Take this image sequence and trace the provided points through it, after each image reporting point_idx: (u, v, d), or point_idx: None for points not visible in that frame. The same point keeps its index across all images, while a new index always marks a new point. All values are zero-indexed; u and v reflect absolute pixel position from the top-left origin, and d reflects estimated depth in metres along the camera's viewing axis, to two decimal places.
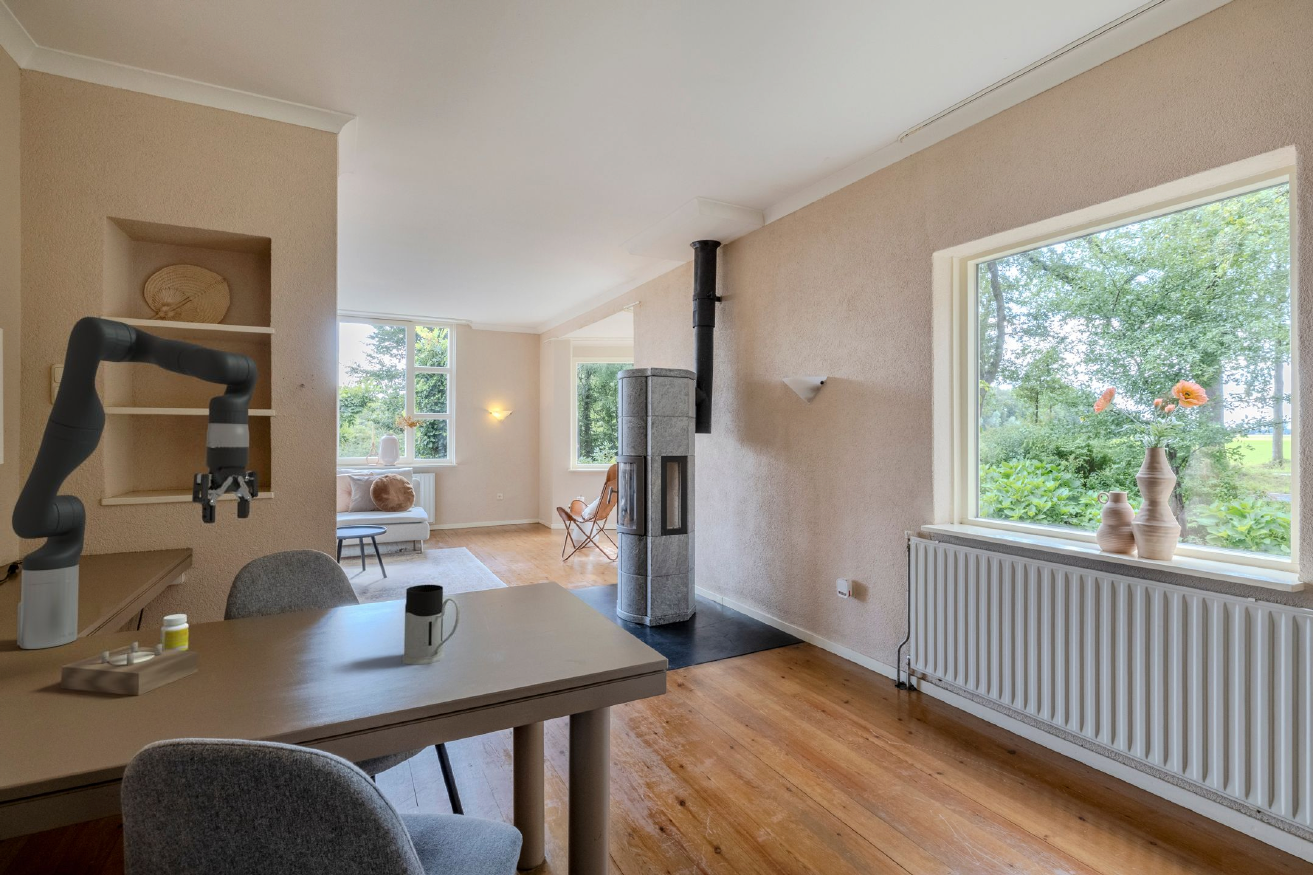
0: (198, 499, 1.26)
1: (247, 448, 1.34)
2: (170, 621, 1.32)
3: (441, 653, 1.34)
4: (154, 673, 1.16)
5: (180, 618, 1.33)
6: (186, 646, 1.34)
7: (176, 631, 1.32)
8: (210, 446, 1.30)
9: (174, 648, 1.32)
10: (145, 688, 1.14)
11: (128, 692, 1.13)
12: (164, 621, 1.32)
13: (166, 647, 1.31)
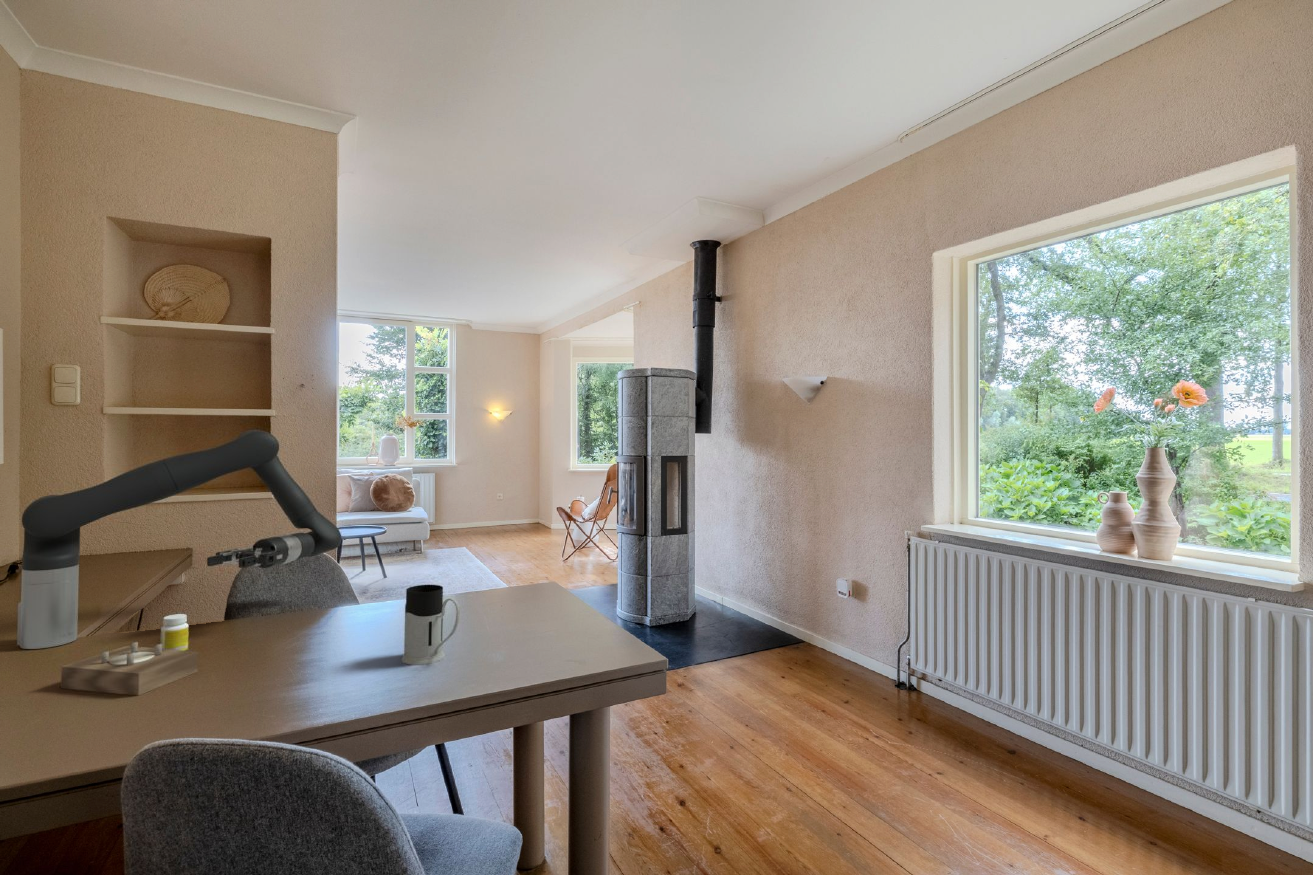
0: (267, 560, 1.50)
1: None
2: (170, 621, 1.32)
3: (441, 653, 1.34)
4: (154, 673, 1.16)
5: (180, 618, 1.33)
6: (186, 646, 1.34)
7: (176, 631, 1.32)
8: (288, 548, 1.61)
9: (174, 648, 1.32)
10: (145, 688, 1.14)
11: (128, 692, 1.13)
12: (164, 621, 1.32)
13: (166, 647, 1.31)
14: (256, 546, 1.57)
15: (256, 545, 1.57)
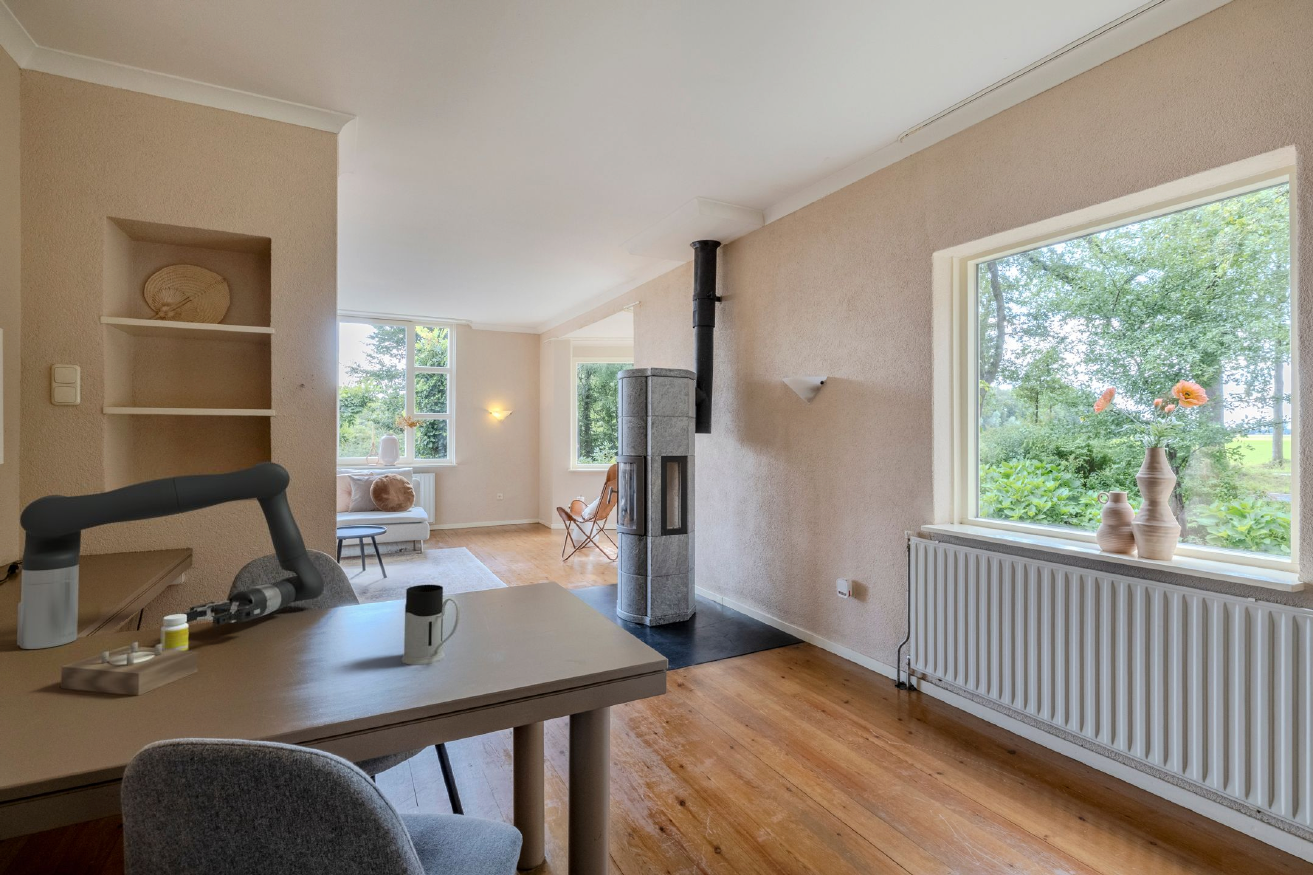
0: (244, 616, 1.43)
1: None
2: (170, 621, 1.32)
3: (441, 653, 1.34)
4: (154, 673, 1.16)
5: (180, 618, 1.33)
6: (186, 646, 1.34)
7: (176, 631, 1.32)
8: (267, 600, 1.54)
9: (174, 648, 1.32)
10: (145, 688, 1.14)
11: (128, 692, 1.13)
12: (164, 621, 1.32)
13: (166, 647, 1.31)
14: (233, 599, 1.51)
15: (233, 598, 1.51)
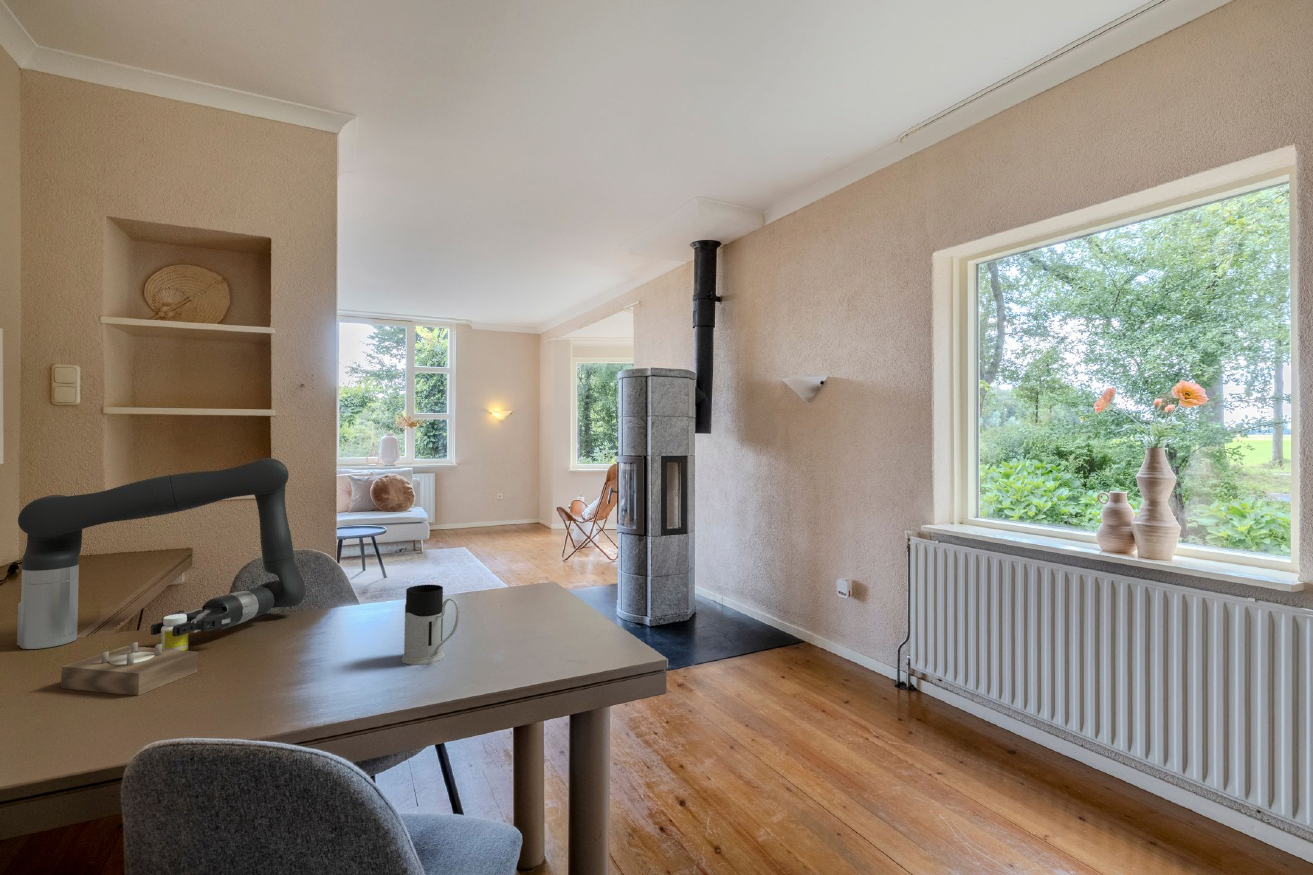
0: (207, 625, 1.35)
1: None
2: (170, 621, 1.32)
3: (441, 653, 1.34)
4: (154, 673, 1.16)
5: (180, 618, 1.33)
6: (186, 646, 1.34)
7: None
8: (243, 608, 1.47)
9: (174, 648, 1.32)
10: (145, 688, 1.14)
11: (128, 692, 1.13)
12: (164, 621, 1.32)
13: (166, 647, 1.31)
14: (206, 606, 1.43)
15: (206, 605, 1.43)
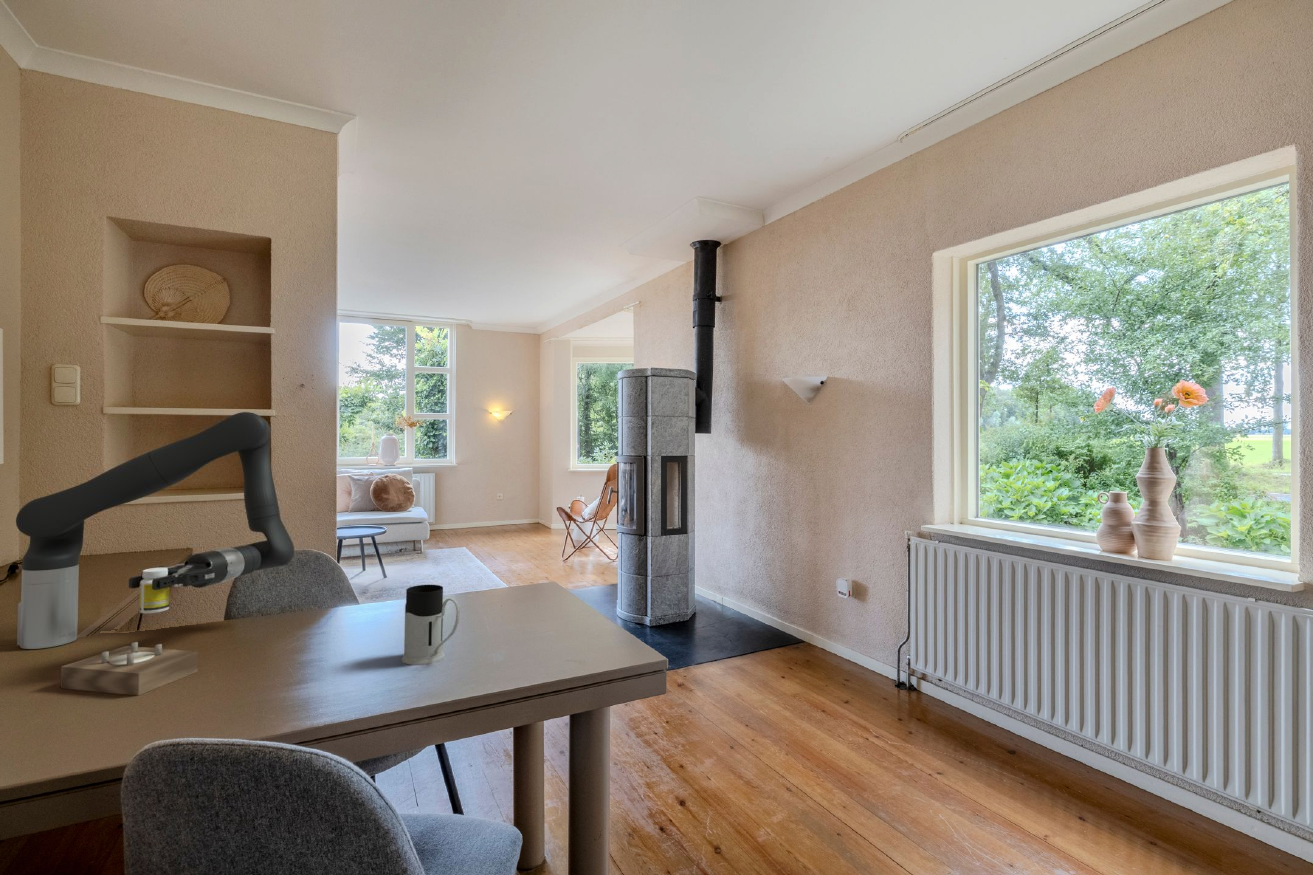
0: (189, 580, 1.28)
1: None
2: (150, 574, 1.24)
3: (441, 653, 1.34)
4: (154, 673, 1.16)
5: (160, 571, 1.25)
6: (167, 601, 1.27)
7: None
8: (228, 564, 1.39)
9: (155, 602, 1.24)
10: (145, 688, 1.14)
11: (128, 692, 1.13)
12: (143, 574, 1.24)
13: (146, 601, 1.24)
14: (189, 562, 1.36)
15: (189, 561, 1.36)
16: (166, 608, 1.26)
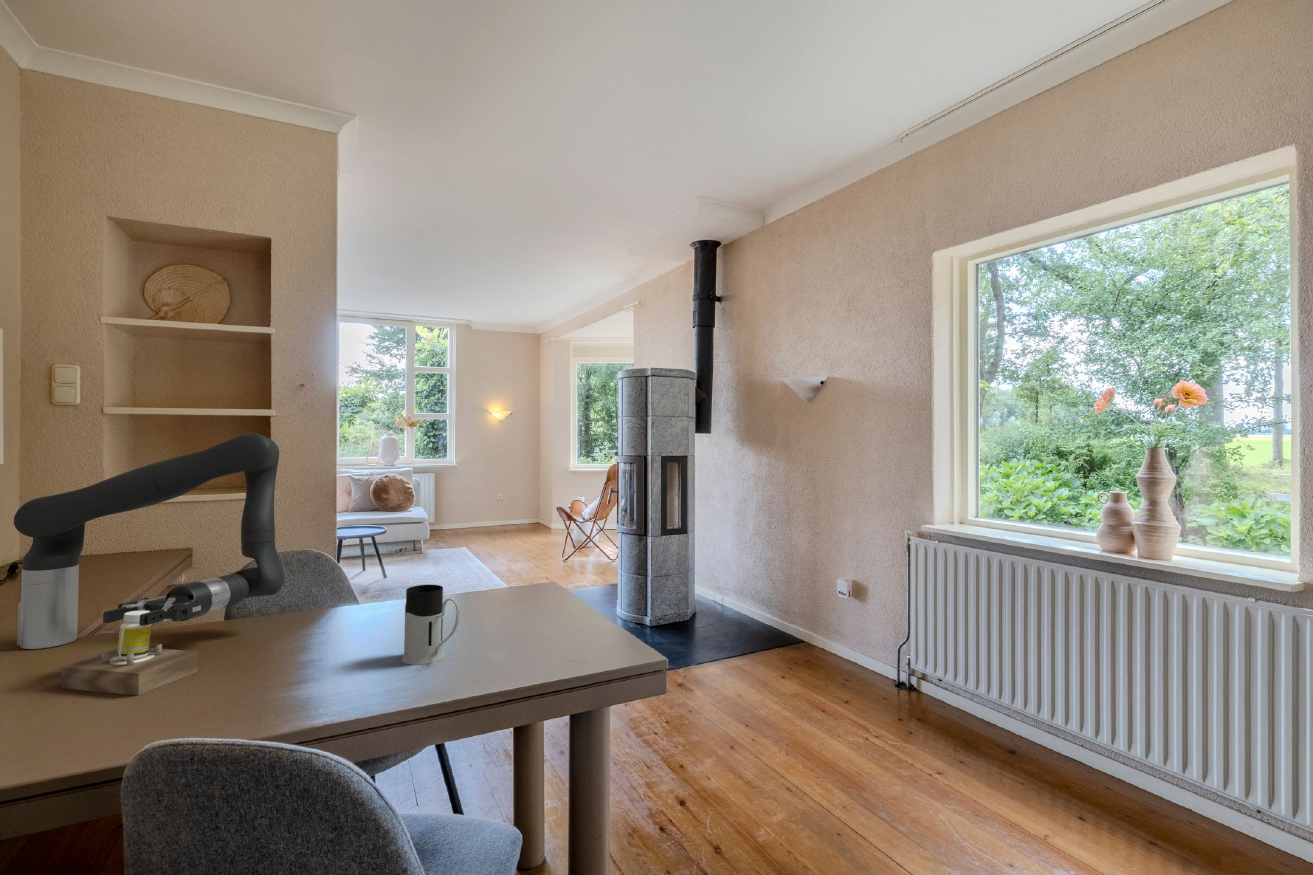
0: (179, 614, 1.22)
1: None
2: (131, 618, 1.19)
3: (441, 653, 1.34)
4: (154, 673, 1.16)
5: None
6: (147, 647, 1.21)
7: (137, 629, 1.19)
8: (212, 596, 1.33)
9: (133, 648, 1.19)
10: (145, 688, 1.14)
11: (128, 692, 1.13)
12: (125, 617, 1.19)
13: (124, 646, 1.18)
14: (171, 594, 1.30)
15: (171, 593, 1.30)
16: (145, 654, 1.20)
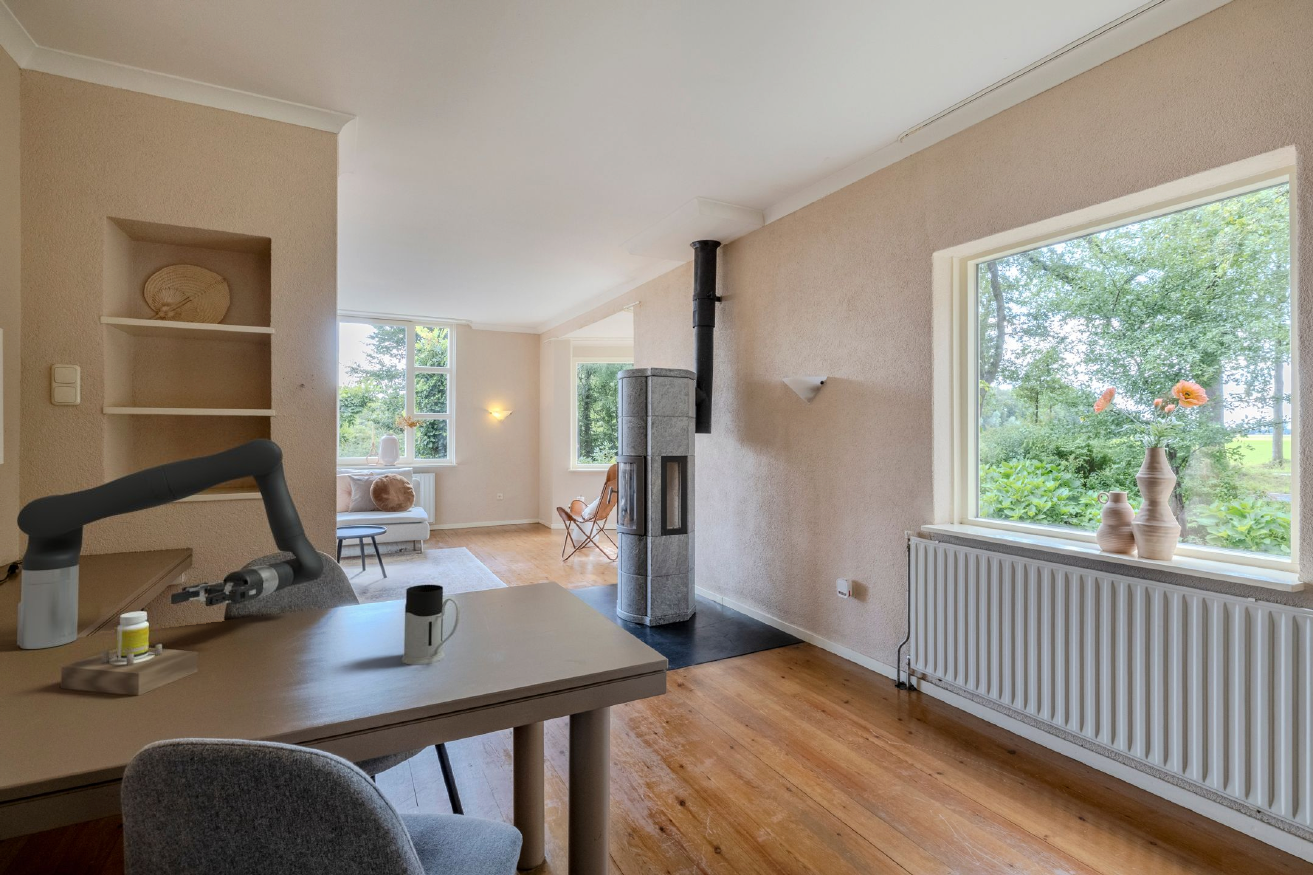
0: (238, 596, 1.36)
1: None
2: (128, 620, 1.18)
3: (441, 653, 1.34)
4: (154, 673, 1.16)
5: (139, 616, 1.19)
6: (146, 647, 1.21)
7: (135, 631, 1.19)
8: (263, 581, 1.47)
9: (133, 649, 1.18)
10: (145, 688, 1.14)
11: (128, 692, 1.13)
12: (121, 619, 1.18)
13: (123, 648, 1.18)
14: (227, 579, 1.44)
15: (227, 578, 1.44)
16: (145, 655, 1.20)
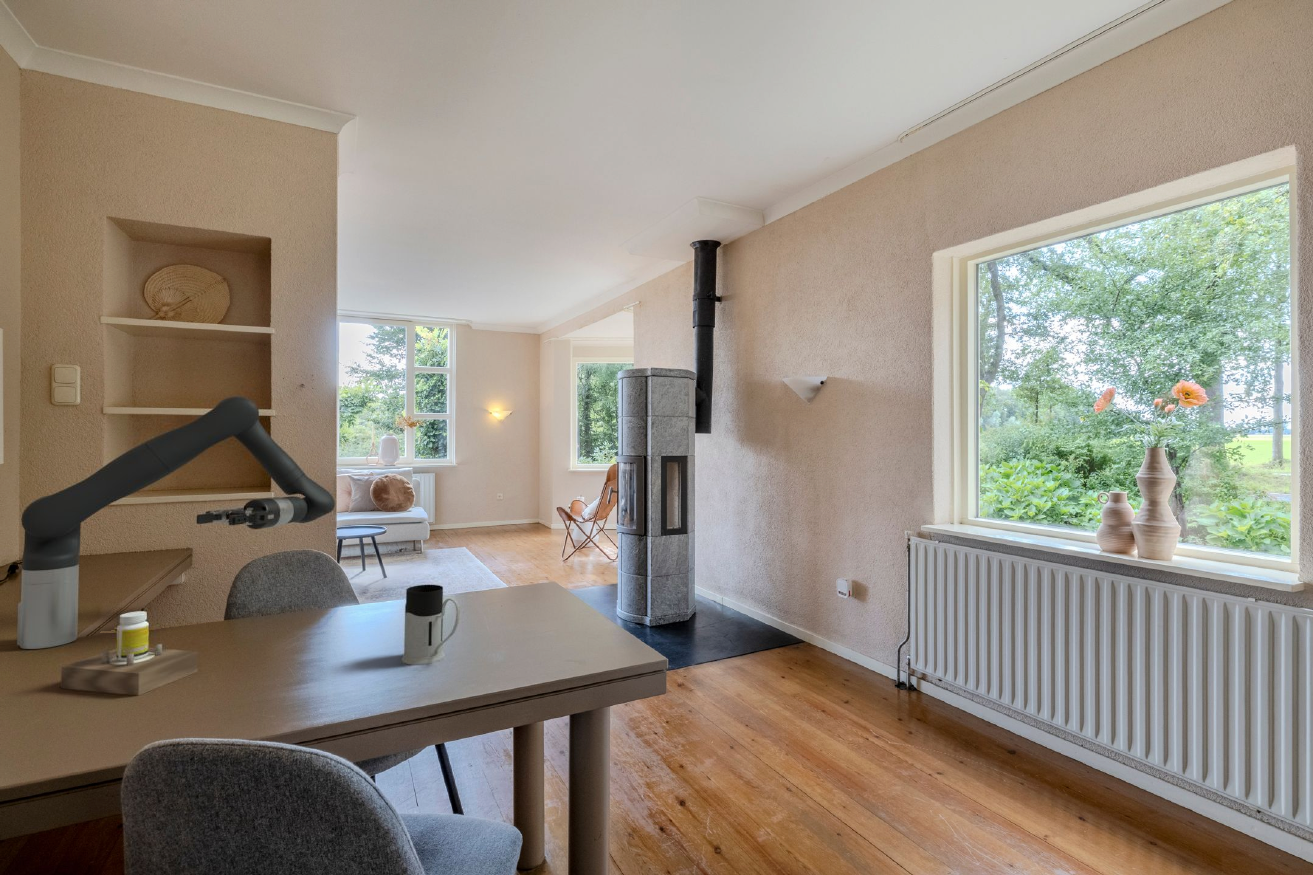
0: (258, 518, 1.47)
1: None
2: (128, 619, 1.18)
3: (441, 653, 1.34)
4: (154, 673, 1.16)
5: (139, 615, 1.20)
6: (146, 647, 1.21)
7: (135, 630, 1.19)
8: (280, 510, 1.58)
9: (133, 649, 1.18)
10: (145, 688, 1.14)
11: (128, 692, 1.13)
12: (121, 619, 1.19)
13: (123, 648, 1.18)
14: (247, 507, 1.54)
15: (247, 506, 1.54)
16: (145, 654, 1.20)
